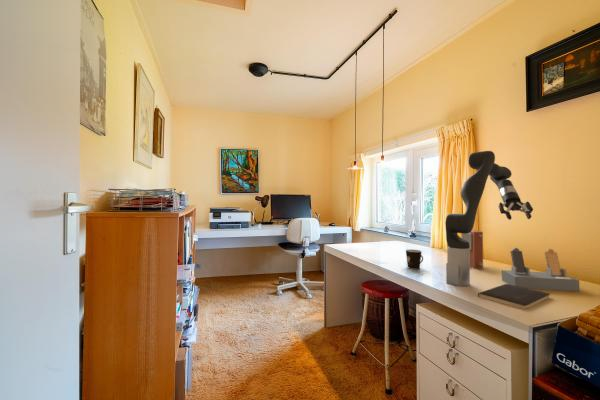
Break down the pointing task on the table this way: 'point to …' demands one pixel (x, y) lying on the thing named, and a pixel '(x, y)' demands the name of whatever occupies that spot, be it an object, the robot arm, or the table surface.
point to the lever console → (540, 280)
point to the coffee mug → (414, 258)
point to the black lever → (518, 260)
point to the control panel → (475, 247)
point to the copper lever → (553, 261)
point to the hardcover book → (514, 295)
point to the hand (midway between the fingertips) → (519, 218)
